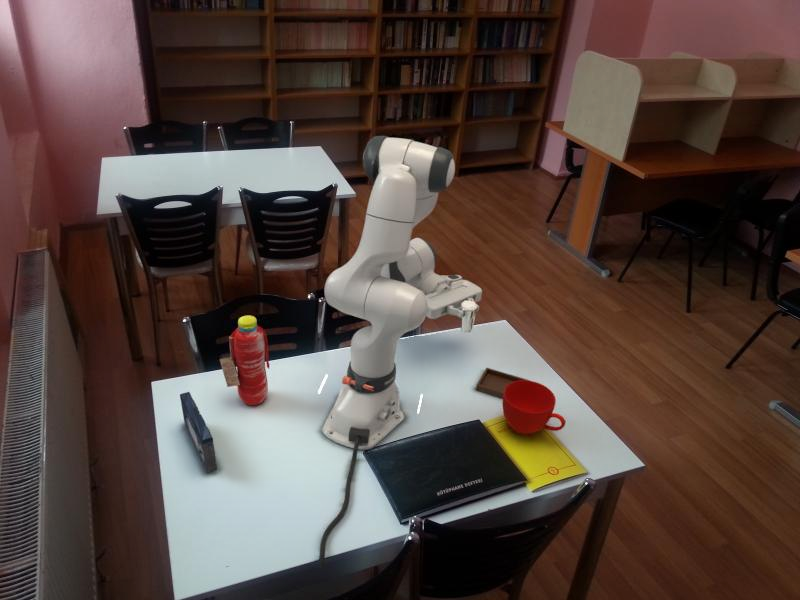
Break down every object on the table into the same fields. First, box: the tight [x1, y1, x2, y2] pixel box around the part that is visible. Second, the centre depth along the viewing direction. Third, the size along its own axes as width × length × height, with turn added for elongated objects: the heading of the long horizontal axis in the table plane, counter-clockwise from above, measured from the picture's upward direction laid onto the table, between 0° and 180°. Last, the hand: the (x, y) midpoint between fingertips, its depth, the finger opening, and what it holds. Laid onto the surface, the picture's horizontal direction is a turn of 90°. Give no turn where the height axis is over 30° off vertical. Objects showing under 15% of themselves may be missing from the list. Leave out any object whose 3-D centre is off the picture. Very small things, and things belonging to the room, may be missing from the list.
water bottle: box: [219, 315, 270, 406], centre depth 155 cm, size 12×8×25 cm, turn 108°
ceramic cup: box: [502, 379, 566, 436], centre depth 155 cm, size 13×17×10 cm
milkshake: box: [460, 300, 478, 334], centre depth 171 cm, size 4×5×10 cm
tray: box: [475, 367, 531, 399], centre depth 171 cm, size 9×15×2 cm, turn 66°
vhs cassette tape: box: [179, 391, 218, 473], centre depth 143 cm, size 18×3×10 cm, turn 30°
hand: (470, 312), depth 170 cm, fingers closed on milkshake, 4 cm apart
